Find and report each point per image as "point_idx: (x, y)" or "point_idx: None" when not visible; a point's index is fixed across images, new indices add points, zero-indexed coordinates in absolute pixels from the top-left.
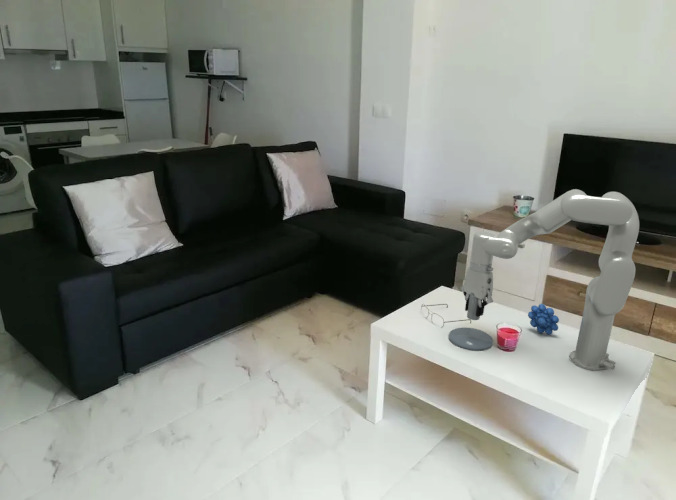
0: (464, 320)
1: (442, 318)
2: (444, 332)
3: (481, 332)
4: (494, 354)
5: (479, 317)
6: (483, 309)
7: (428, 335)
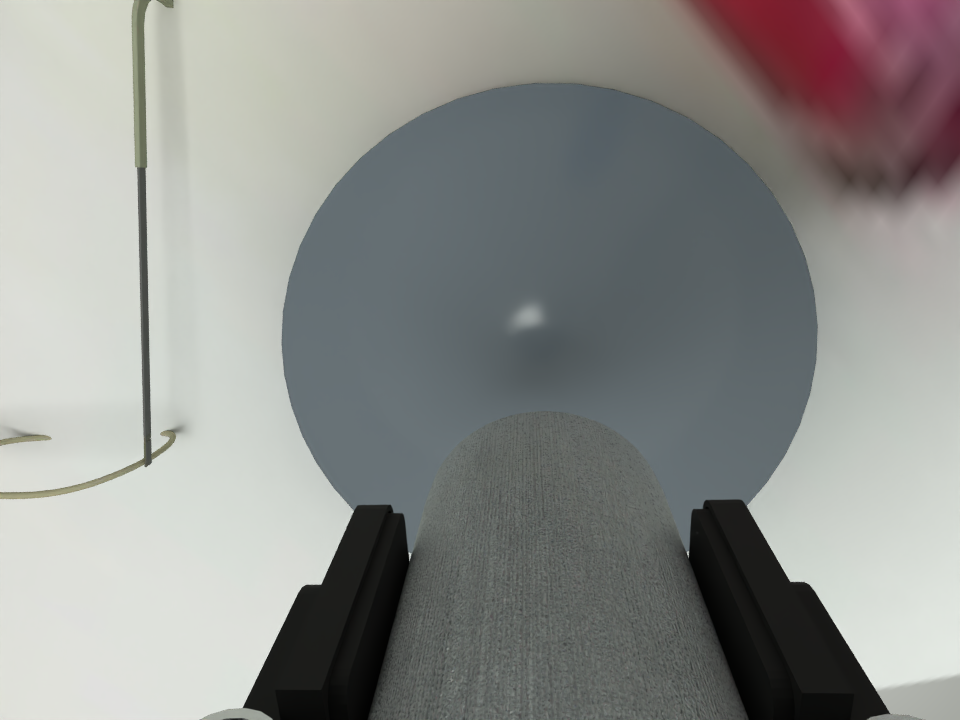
0: (145, 123)
1: (95, 483)
2: (273, 474)
3: (507, 140)
4: (925, 357)
5: (659, 485)
6: (857, 684)
7: (271, 640)
